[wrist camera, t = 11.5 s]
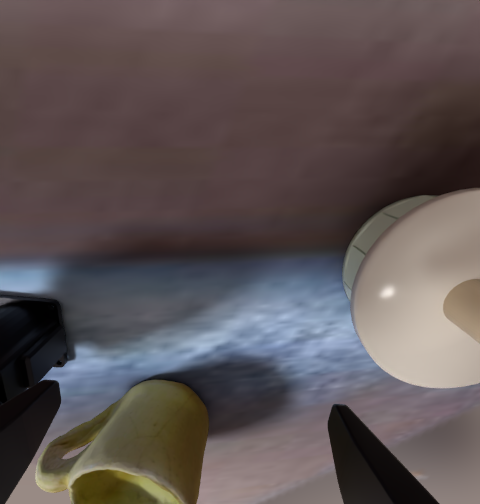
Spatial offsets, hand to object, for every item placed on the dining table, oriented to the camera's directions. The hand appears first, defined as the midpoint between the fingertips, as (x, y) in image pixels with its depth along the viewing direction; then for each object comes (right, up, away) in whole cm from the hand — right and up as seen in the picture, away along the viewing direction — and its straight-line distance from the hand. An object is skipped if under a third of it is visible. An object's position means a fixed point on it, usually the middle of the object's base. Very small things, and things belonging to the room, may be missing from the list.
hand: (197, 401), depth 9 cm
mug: (-8, -10, +18) cm, 22 cm away
